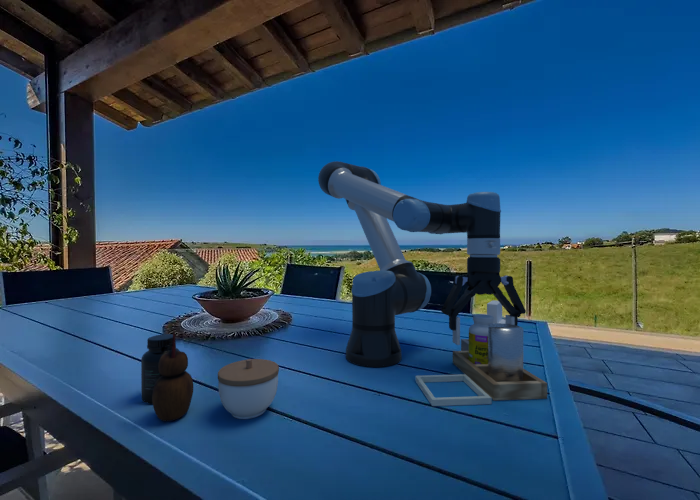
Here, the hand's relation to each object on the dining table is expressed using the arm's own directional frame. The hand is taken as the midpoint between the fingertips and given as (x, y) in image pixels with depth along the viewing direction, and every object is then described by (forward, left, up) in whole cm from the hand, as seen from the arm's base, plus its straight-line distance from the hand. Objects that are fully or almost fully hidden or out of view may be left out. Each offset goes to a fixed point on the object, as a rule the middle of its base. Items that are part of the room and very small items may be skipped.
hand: (483, 343), depth 79 cm
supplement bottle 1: (-72, -9, -7) cm, 72 cm away
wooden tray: (0, -5, -7) cm, 8 cm away
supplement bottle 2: (0, 0, -6) cm, 6 cm away
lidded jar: (-53, -16, -7) cm, 55 cm away
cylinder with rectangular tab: (+17, +27, -7) cm, 33 cm away
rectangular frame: (-13, -11, -7) cm, 18 cm away
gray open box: (+3, +10, -7) cm, 12 cm away
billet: (0, -10, -7) cm, 12 cm away
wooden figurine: (-66, -17, -7) cm, 68 cm away
